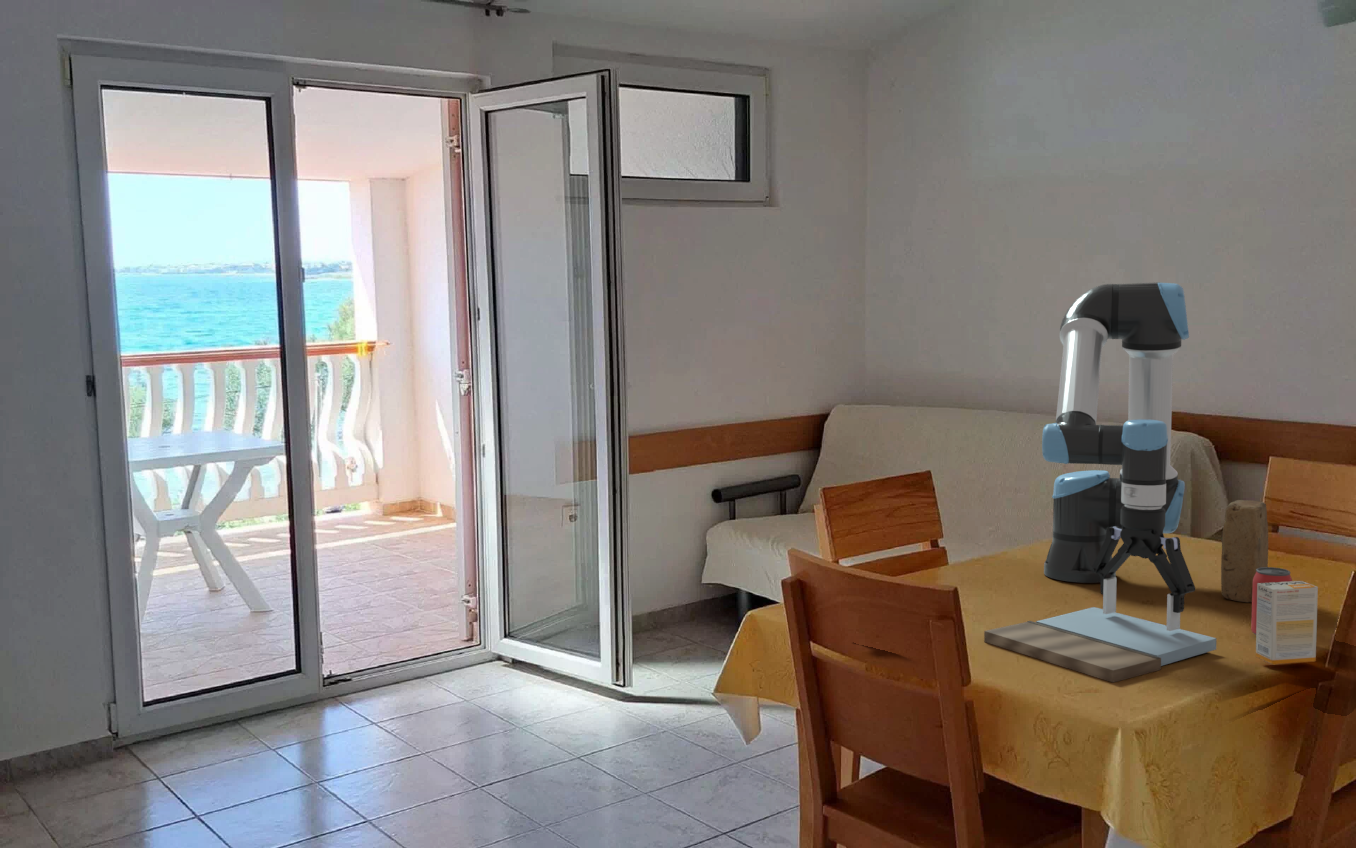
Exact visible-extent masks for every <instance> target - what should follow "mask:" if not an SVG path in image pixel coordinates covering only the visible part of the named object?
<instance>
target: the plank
mask: <svg viewBox="0 0 1356 848" xmlns="http://www.w3.org/2000/svg"><path fill="white" fill-rule="evenodd" d="M1035 622H1036V623H1040V624H1043V625H1047V626H1050V627H1054V628H1057V629H1061V630H1064V631H1068V632H1071V633H1075V634H1078V635H1082V636H1085V637H1089V638H1092V639H1096V640H1100V641H1103V642H1107V643H1110V644H1114V645H1117V646H1121V647H1124V648H1128V649H1131V650H1135V651H1138V652H1142V653H1145V654H1149V655H1152V656H1156V657H1159V658H1161V667H1162V666H1165V665H1168V664H1172V663H1176V662H1178V661H1183V660H1185V659H1188V658H1192V657H1195V656H1199V655H1202V654H1206V653H1210V652H1212V651H1215V650H1217V638H1216V637H1213V636H1209V635H1205V634H1201V633H1197V632H1193V631H1190V630H1185V629H1181V628H1180V629H1177V630H1173V631H1168V630H1166V629H1167V624H1166V625H1165V624H1161V623H1158V622H1154V621H1150V620H1146V619H1143V618H1140V617H1139V618H1138V617H1135V616H1130V615H1126V614H1124V613H1119V612H1117V611H1116V612H1114V613H1109V614H1104V613H1103V608H1100V607H1095V606H1091V607H1088V608H1084V609H1080V610H1075V611H1073V612H1068V613H1064V614H1060V615H1056V616H1052V617H1048V618H1044V619H1040V620H1036V621H1035Z"/></svg>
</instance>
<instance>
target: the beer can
mask: <svg viewBox="0 0 1356 848" xmlns="http://www.w3.org/2000/svg"><path fill="white" fill-rule="evenodd" d="M1256 571H1257V572H1256V574H1255V576H1254V578H1253V590H1252V602H1251V623H1250V624H1251V626H1250V627H1251V629H1250V630H1251V633H1253V634H1254V635H1255V636H1256V622H1257V583H1270V582H1289V581H1293V579H1292V576H1291V571H1290V570H1288V569H1286V568H1280V567H1272V566H1271V567H1270V566H1269V567H1261V568H1258V569H1256Z"/></svg>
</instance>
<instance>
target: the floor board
mask: <svg viewBox="0 0 1356 848" xmlns="http://www.w3.org/2000/svg"><path fill="white" fill-rule="evenodd" d="M983 634H984V635H983V637H984V638H983V639H984V640H983V641H984V643H987V644H990V645H994V646H996V647H999V648H1003V649H1006V650H1008V651H1013V652H1015V653H1019V654H1022V655H1025V656H1029V657H1031V658H1034V659H1037V660H1041V661H1043V662H1047V663H1049V664H1053V665H1057V666H1060V667H1062V668H1065V669H1068V670H1072V671H1075V672H1079V673H1080V674H1081V673H1082V674H1085V675H1088V676H1091V677H1094V678H1098V679H1101V680H1104V681H1107V682H1110V683H1116V682H1119V681H1123V680H1126V679H1131V678H1136V677H1138V676H1142V675H1143V676H1144V675H1146V674H1151V673H1153V672H1157V671H1161V669H1162V666H1161V658H1159V657H1156V656H1152V655H1149V654H1145V653H1142V652H1138V651H1135V650H1131V649H1128V648H1124V647H1121V646H1117V645H1114V644H1110V643H1107V642H1103V641H1100V640H1096V639H1092V638H1089V637H1085V636H1082V635H1078V634H1075V633H1071V632H1068V631H1064V630H1061V629H1057V628H1054V627H1050V626H1047V625H1043V624H1040V623H1036V621H1032V620H1027V621H1025V622H1020V623H1015V624H1011V625H1007V626H1001V627H996V628H993V629H992V628H991V629H987V630H984V632H983Z"/></svg>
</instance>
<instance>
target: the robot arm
mask: <svg viewBox="0 0 1356 848" xmlns="http://www.w3.org/2000/svg"><path fill="white" fill-rule="evenodd" d="M1186 307H1187V306H1186V299H1185V291H1184V287H1183V286H1181V285H1180V284H1179V283H1173V282H1172V283H1171V282H1137V283H1117V284H1116V283H1105V284H1100V285H1098V286H1094V287H1092V288H1091V289H1088V290H1086V291H1085V292H1084V293H1082V294H1081V295H1080V296H1078V298H1077V299H1075V301H1073V303H1072V304H1071V305H1070V306H1069V308H1068V309H1067V310H1066V312H1065V313H1064V316H1063V318H1062V319H1061V323H1060V328H1059V341H1060V343H1061V345H1062V346H1063V348H1062V355H1061V356H1062V359H1061V364H1060V366H1061V367H1060V374H1059V375H1060V376H1059V386H1058V393H1057V394H1058V396H1057V403H1056V404H1057V405H1056V416H1055V422H1053V423H1046V424H1045V425H1044V426H1043V429H1042V434H1041V435H1042V437H1041V439H1042V441H1041V442H1042V443H1041V451H1042V452H1041V453H1042V457H1043V459H1044V461H1046V462H1050V463H1057V464H1064V465H1068V464H1083V465H1085V464H1086V465H1088V464H1089V465H1107V466H1108V465H1109V466H1110V465H1112V466H1113V465H1114V466H1121V469H1120V470H1119V477H1115V478H1114V477H1111V474H1110V472H1109V471H1107V470H1103V469H1102V470H1100V469H1099V470H1098V469H1095V470H1094V469H1093V470H1091V469H1090V470H1079V471H1073V472H1068V473H1063V474H1060V475H1058V476H1057V477H1056V478H1055V479H1054V483H1053V494H1052V495H1051V497H1052V499H1053V502H1052V503H1053V509H1052V511H1053V513H1052V516H1053V517H1052V542H1051V544H1050V546H1049V550H1048V552H1047V555H1046V560H1045V561H1044V563H1043V574H1044V576H1046V577H1048V578H1051V579H1052V580H1053V579H1054V580H1057V581H1064V582H1068V583H1083V584H1085V583H1086V584H1093V583H1095V584H1096V583H1100V594H1101V595H1102V609H1103V613H1104V614H1109V613H1114V612H1116V613H1117V578H1118V577H1116V575H1117V571H1119V569H1120V568H1121V566H1122V565H1123V564H1124V563H1125V562H1126V561H1127V560H1128V558H1130V557H1131V556H1132V557H1139V558H1142V559H1148V560H1149V562H1150V563H1152V564H1153V565H1154V566H1155V568H1156V570H1157V572H1158V573H1159V575H1160V577H1161V578H1162V579H1163V581H1164V582H1165V584H1166V586H1167V588H1168V589H1169V591H1170V593H1168V594H1167V595H1166V597H1167V598H1166V626H1167V629H1166V630H1168V631H1173V630H1177V629H1181V613H1183V612H1184V610H1185V595H1186V594H1188V593H1193V592H1195V591H1196V586H1195V583H1194V580H1193V578H1192V575H1191V573H1190V571H1189V568H1188V565H1187V563H1186V560H1185V558H1184V557H1185V556H1184V555H1183V553H1182V549H1181V540H1180V538H1179V537H1178V536H1173V537H1165V536H1164V534H1172V533H1174V532H1175V531H1176V530H1177V529H1178V526H1179V523H1180V519H1181V518H1180V517H1181V513H1182V507H1183V501H1184V495H1185V487H1186V486H1185V484H1186V483H1185V481H1184V480H1182V479H1178V475H1179V474H1178V471H1177V470H1176V469H1175V468H1174V467H1173V466H1172V465H1171V451H1172V450H1171V447H1172V446H1171V445H1172V418H1173V417H1172V415H1173V414H1172V413H1173V412H1172V409H1173V407H1172V406H1173V377H1174V375H1173V372H1174V355H1175V354H1177V352H1178V351H1179V350H1180V349H1182V340H1183V341H1185V340H1187V339H1189V337H1190V334H1189V333H1190V332H1189V324H1188V317H1187V308H1186ZM1111 339H1112V340H1121V348H1122V350H1123V351H1125V352H1126V353H1127V354H1128V357H1129V358H1128V359H1129V360H1128V361H1129V362H1128V363H1129V364H1128V408H1127V409H1128V411H1127V413H1128V415H1127V416H1128V417H1127V418H1128V419H1127V420H1126V421H1125V422H1124V423H1123V425H1121V424H1119V425H1118V424H1117V425H1115V424H1111V425H1110V424H1097V420H1098V407H1099V405H1098V404H1099V391H1100V378H1101V377H1100V376H1101V364H1102V349H1103V348H1104V347H1105V345H1106V344H1107V342H1108V340H1111ZM1120 539H1121V540H1122V543H1123V544H1122V545H1121V546H1119V548H1118V549H1117V552H1116V553H1115V555H1113V554H1114V552H1115V549H1116V548H1117V545H1118V544H1119V541H1120Z"/></svg>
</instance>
